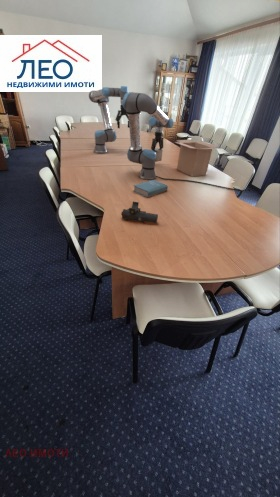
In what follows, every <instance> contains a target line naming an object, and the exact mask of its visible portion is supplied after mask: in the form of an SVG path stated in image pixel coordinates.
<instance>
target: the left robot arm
mask: <svg viewBox="0 0 280 497" xmlns="http://www.w3.org/2000/svg"><path fill="white" fill-rule="evenodd" d="M128 92H129V87H128V86H127V85H126V86H125V85H121V86H120V87H108V86H105V87H102V88H101V89H98V90H91V91H89V93H88V99H89V101H90V102H92V103H93V104H97V105H98V107H99V108H100V113H101V117H102V118H101V119H102V122H103V126H104V127H103V128H104V129H99V130H95V131H94V141H95V142H94V144H95V145H94V149H93V153H95V154H107V153H108V150H107V147H106V143H113V142H116V140H117V136H118V135H117V131H115V130H114V128H113V127H112V122H111V117H110V112H109V107H108V105H109V102H110V97H111V98H120V100H119V101H120V105H119V106H120V108H119V109H118V110H117V113H116V117H115V119H114V120H115V121H116V125H117V129H121V128H120V127H121V121H120V120H121V118H122V117H123V116H125V117H126V118H127V128H128V129H130V128H129V116H128V114H127V113H126V110H125V109H124V108H123V98H124V95H125V94H126V93H128Z"/></svg>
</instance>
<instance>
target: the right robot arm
mask: <svg viewBox="0 0 280 497" xmlns="http://www.w3.org/2000/svg"><path fill="white" fill-rule="evenodd" d="M123 108H124V109H125V110H126V113H127V114H128V116H129V120H128V121H129V128H128V129H129V142H130V146H129V147H128V149H127V153H126V156H127V159H128V161H129V162H131V163H133V164H134V163H135V164H139V165H141V169H140V172H139V178H140V179H142V180H146V181H150V180H156V178H158V179H161V180H165V181H180V182H190V183H195V184H196V183H198V184H203V185H208V186H212V187H216V188H222V189H226V190H232V191H237V192H246V191H248V192H251V189H250V188H245V189H238V188H237V189H236V188H232V187H227V186H222V185H217V184H212V183H207V182H202V181H197V180H189V179H179V178H165V177H161V176H157V174H156V169H155V167H156V162H155V160H156V153H155V148H157V145H158V147H159V148H158V149H161V150H163V149H164V140H165V139H164V137H163V131H164V128H165V129H172V128H173V127H174V124H175V123H174V122H175V121H174V119H173V118H169V117H168V115H166V113H165V112H163V110H162V109H161V108H160V107H159V105H158V103H157V101H156V100H155V99H154V98H153V97H151V96H150V95H149V94H147V93H144V92H134V91H128V93H126V94H125V95H124V98H123ZM142 112H143V113H146V114H148V115H151V117H149V119H148V124H149V126H150V127H155V129H154V131H155V132H154V138H152V141H151V146H150V149H149V148H145V149H144V148H143V146H142V145H141V127H140V124H141V123H140V115H141V113H142ZM151 149H152V150H151Z"/></svg>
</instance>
